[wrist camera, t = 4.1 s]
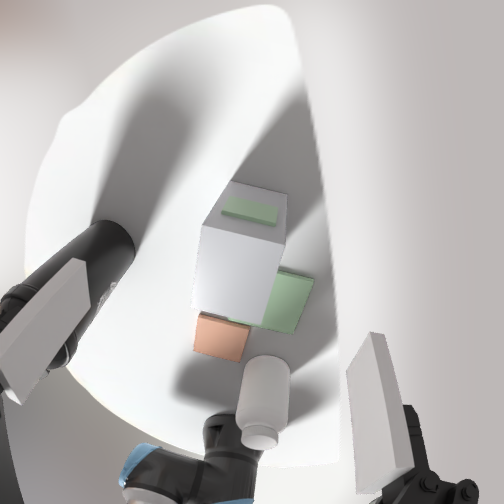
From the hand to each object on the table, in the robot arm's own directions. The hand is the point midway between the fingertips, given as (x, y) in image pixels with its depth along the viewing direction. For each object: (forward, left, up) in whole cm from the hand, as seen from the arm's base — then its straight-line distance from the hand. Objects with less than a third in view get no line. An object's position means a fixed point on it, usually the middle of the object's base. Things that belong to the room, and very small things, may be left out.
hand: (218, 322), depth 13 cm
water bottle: (-16, +20, -26) cm, 36 cm away
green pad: (-18, -5, -26) cm, 32 cm away
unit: (-7, 0, -26) cm, 27 cm away
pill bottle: (-33, -8, -26) cm, 43 cm away
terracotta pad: (-28, +1, -26) cm, 38 cm away
